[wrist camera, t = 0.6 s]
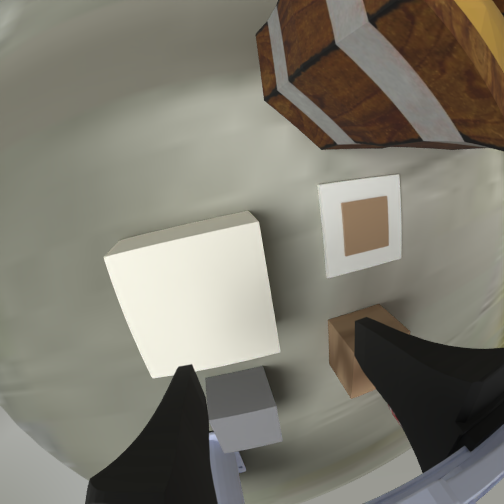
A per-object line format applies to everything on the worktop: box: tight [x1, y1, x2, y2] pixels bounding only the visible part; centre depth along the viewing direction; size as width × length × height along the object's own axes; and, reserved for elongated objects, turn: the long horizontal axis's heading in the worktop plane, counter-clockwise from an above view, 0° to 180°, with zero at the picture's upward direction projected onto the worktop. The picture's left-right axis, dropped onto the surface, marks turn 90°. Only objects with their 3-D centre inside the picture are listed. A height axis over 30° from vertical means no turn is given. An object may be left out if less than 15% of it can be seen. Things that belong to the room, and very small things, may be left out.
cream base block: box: [104, 211, 280, 378], centre depth 19 cm, size 9×9×4 cm
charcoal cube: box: [205, 366, 283, 454], centre depth 22 cm, size 5×5×5 cm
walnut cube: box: [328, 304, 410, 399], centre depth 22 cm, size 5×5×5 cm
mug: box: [256, 0, 504, 151], centre depth 10 cm, size 20×14×15 cm
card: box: [317, 174, 402, 278], centre depth 21 cm, size 7×7×1 cm
